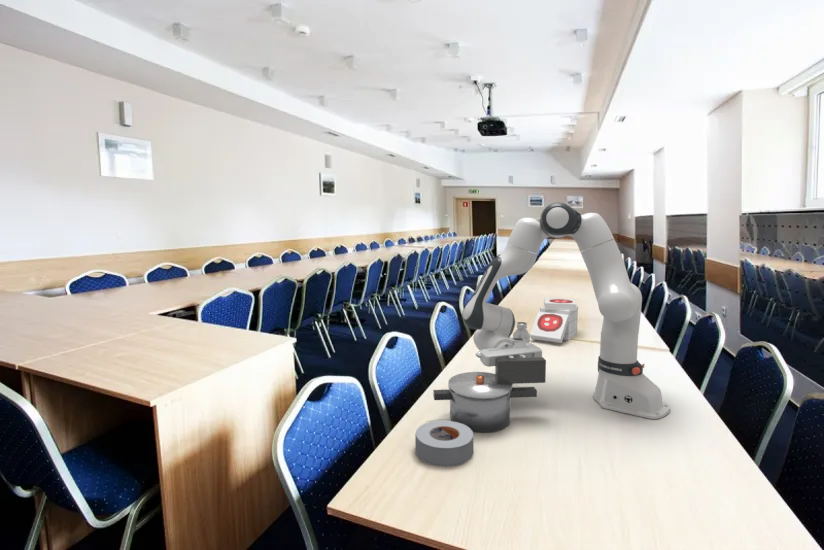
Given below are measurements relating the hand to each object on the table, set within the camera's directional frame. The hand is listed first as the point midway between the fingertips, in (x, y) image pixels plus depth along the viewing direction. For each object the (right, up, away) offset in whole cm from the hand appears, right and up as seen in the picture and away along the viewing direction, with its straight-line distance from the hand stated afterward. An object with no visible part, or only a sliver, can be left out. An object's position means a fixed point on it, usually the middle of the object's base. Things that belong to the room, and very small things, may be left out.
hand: (523, 363), depth 133 cm
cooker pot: (-12, -17, 0) cm, 21 cm away
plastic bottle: (+9, -12, +39) cm, 41 cm away
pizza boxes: (+39, -5, +88) cm, 96 cm away
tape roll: (-25, -20, -18) cm, 37 cm away
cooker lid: (-9, -7, -1) cm, 11 cm away
